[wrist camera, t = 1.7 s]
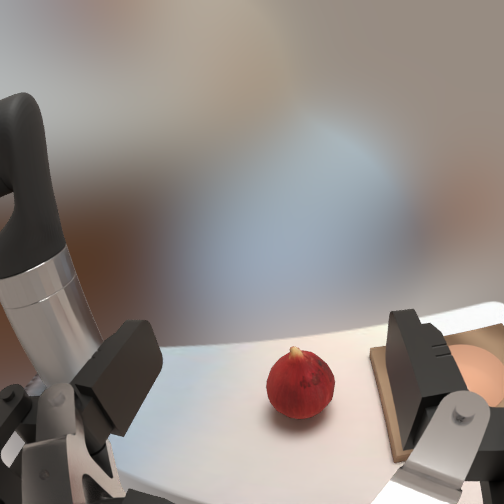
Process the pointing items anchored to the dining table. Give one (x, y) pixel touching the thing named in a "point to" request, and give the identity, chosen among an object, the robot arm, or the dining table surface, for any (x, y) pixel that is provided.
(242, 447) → the dining table surface
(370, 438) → the dining table surface
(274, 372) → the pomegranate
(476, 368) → the serving board
